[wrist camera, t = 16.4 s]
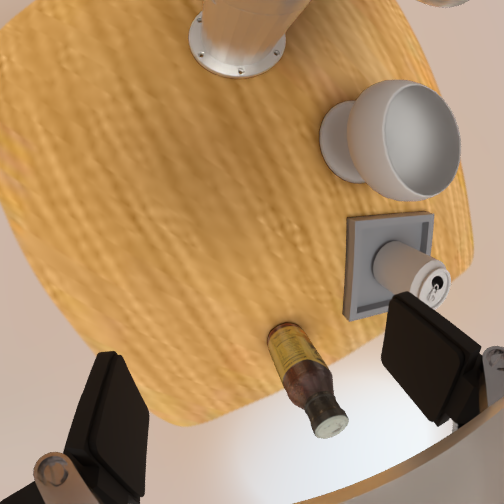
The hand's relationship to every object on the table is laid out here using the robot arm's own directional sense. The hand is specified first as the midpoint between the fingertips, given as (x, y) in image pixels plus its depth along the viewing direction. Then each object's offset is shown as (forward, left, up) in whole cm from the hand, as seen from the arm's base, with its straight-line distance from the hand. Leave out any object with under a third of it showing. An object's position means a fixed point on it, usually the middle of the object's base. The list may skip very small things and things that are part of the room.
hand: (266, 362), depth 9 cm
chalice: (-8, +21, -30) cm, 37 cm away
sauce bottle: (+21, +9, -30) cm, 37 cm away
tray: (+11, +27, -30) cm, 41 cm away
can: (+11, +26, -29) cm, 41 cm away
